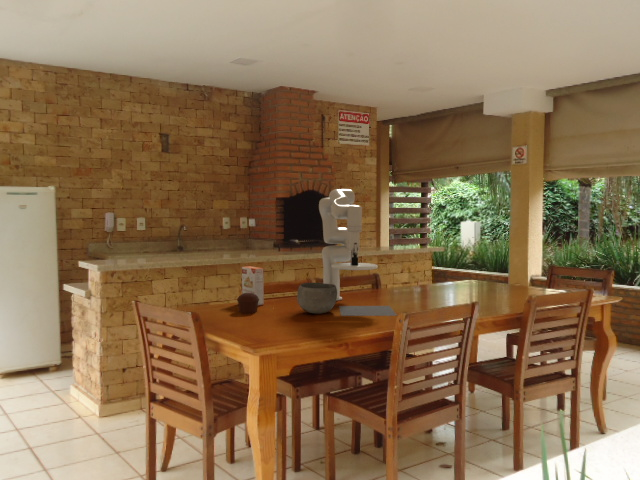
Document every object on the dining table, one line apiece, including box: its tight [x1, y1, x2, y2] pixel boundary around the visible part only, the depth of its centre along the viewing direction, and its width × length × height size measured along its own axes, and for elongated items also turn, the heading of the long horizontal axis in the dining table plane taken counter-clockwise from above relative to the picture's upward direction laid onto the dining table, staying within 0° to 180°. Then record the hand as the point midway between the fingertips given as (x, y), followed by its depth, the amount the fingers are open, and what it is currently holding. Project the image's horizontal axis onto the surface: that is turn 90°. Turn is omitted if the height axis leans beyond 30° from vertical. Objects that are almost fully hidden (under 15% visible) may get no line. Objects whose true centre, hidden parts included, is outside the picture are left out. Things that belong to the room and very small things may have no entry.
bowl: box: [296, 282, 337, 315], centre depth 306 cm, size 20×20×15 cm
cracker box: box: [241, 265, 265, 307], centre depth 334 cm, size 14×6×21 cm, turn 40°
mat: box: [338, 305, 398, 317], centre depth 311 cm, size 28×28×1 cm
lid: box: [331, 255, 379, 271], centre depth 308 cm, size 24×24×6 cm
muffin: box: [236, 293, 259, 315], centre depth 310 cm, size 12×11×10 cm
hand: (354, 264), depth 308 cm, fingers closed on lid, 4 cm apart
